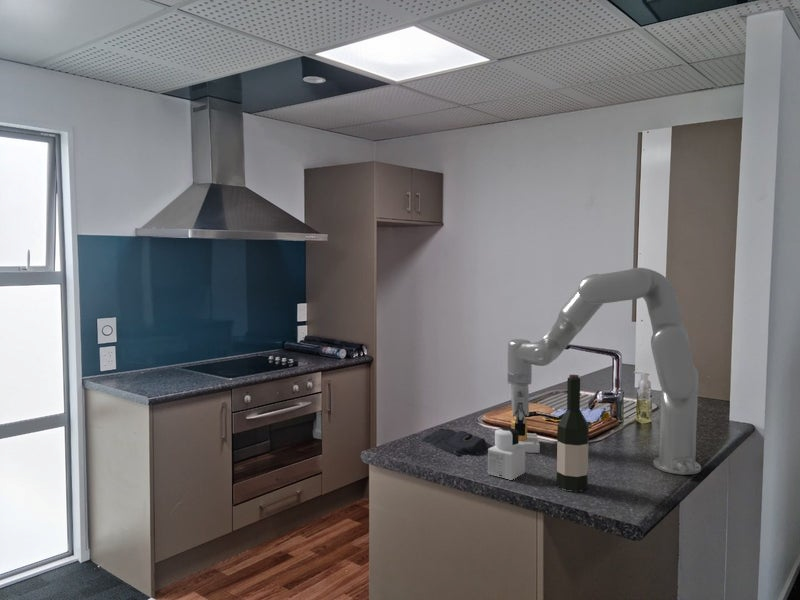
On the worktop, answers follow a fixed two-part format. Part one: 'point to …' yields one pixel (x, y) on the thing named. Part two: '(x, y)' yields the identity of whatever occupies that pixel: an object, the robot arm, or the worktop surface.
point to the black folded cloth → (457, 442)
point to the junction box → (531, 444)
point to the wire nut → (513, 421)
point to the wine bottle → (572, 442)
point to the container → (506, 455)
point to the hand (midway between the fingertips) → (519, 430)
